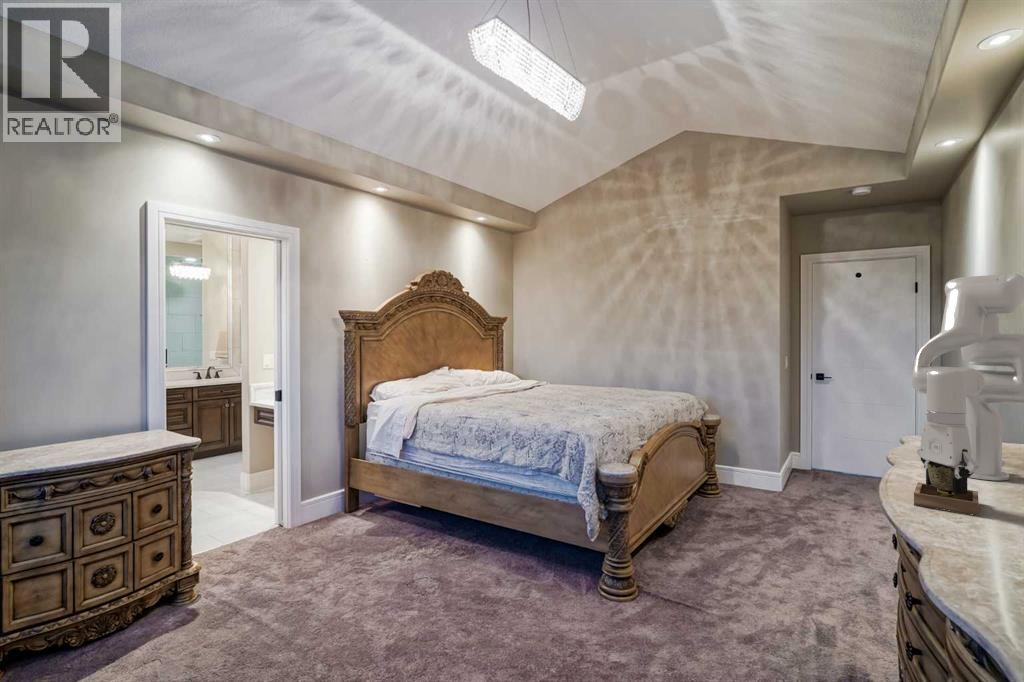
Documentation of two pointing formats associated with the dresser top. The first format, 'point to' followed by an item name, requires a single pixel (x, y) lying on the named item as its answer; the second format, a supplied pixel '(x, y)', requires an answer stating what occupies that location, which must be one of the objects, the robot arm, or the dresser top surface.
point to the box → (946, 500)
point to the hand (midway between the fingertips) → (946, 488)
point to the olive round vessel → (942, 478)
